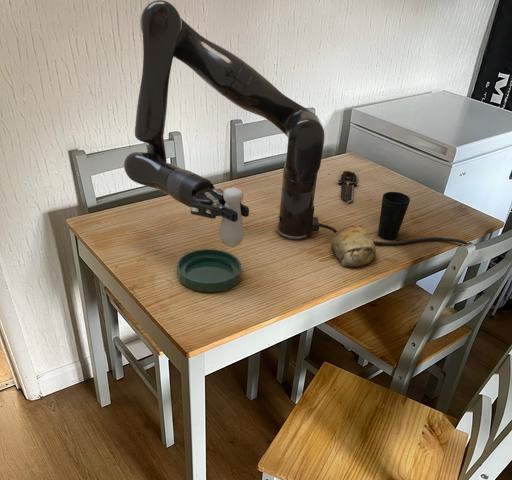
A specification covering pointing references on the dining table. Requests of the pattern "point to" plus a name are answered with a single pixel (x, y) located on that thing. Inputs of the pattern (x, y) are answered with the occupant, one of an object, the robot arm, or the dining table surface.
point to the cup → (392, 214)
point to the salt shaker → (231, 230)
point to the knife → (350, 185)
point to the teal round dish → (209, 270)
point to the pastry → (353, 246)
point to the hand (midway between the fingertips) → (242, 215)
